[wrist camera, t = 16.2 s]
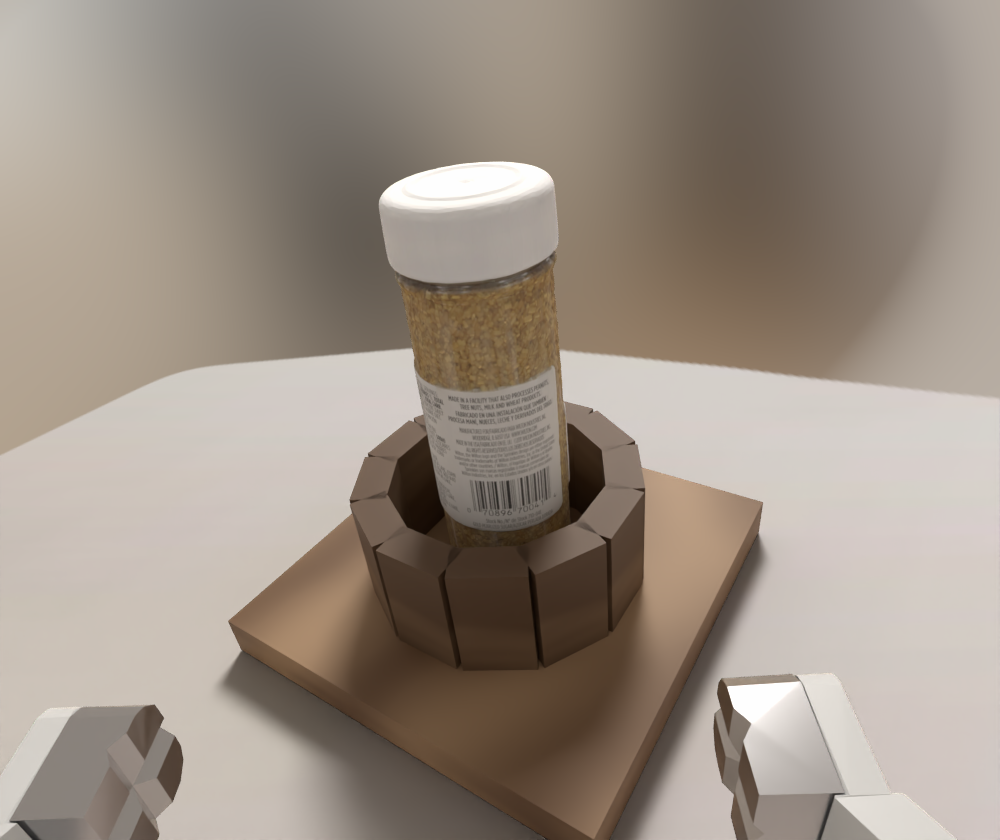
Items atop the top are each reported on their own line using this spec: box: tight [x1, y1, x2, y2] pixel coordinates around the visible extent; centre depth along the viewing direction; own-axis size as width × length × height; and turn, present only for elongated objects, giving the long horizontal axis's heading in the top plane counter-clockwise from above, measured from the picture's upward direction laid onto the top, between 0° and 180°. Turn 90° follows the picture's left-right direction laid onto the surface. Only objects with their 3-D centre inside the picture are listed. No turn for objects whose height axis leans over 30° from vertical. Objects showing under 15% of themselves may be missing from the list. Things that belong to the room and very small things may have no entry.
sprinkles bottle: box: [379, 162, 571, 548], centre depth 21 cm, size 5×5×13 cm
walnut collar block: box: [228, 402, 763, 840], centre depth 24 cm, size 14×14×6 cm
